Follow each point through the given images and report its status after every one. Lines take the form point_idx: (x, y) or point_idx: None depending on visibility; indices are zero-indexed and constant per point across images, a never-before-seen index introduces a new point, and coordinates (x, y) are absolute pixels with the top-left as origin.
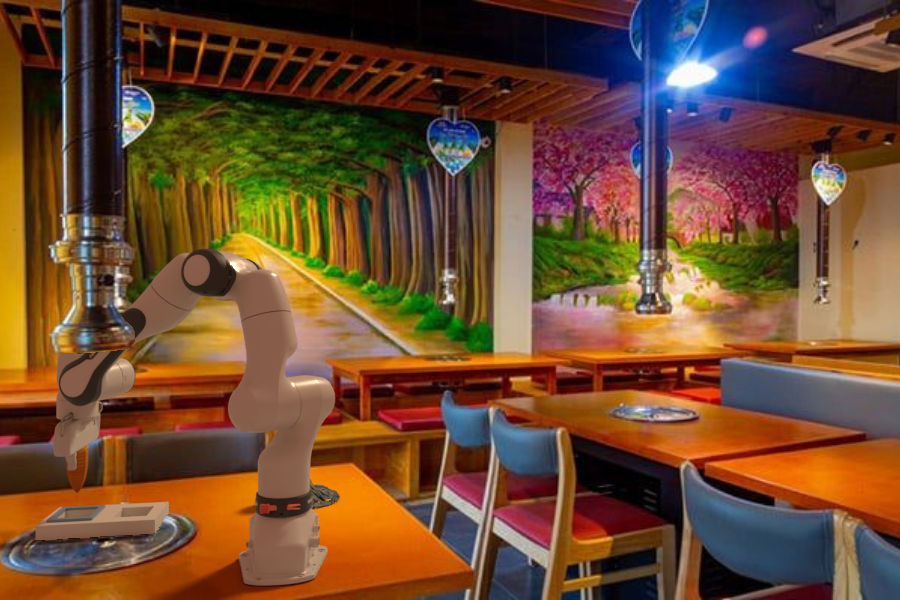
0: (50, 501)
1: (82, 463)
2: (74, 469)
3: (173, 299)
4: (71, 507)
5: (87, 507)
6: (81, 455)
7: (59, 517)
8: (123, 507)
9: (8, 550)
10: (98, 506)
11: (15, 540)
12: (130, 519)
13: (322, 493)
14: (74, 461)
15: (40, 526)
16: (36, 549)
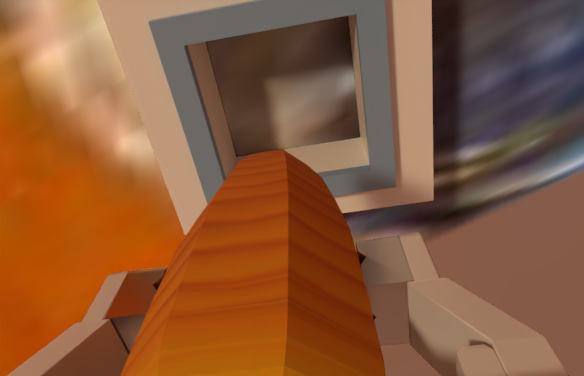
0: (7, 326)
1: (318, 237)
2: (421, 237)
3: None
4: (213, 175)
5: (200, 102)
6: (340, 316)
7: None
8: None
9: (499, 205)
10: (182, 48)
11: (399, 234)
12: None
13: None
14: (465, 295)
15: (432, 182)
16: (514, 119)
